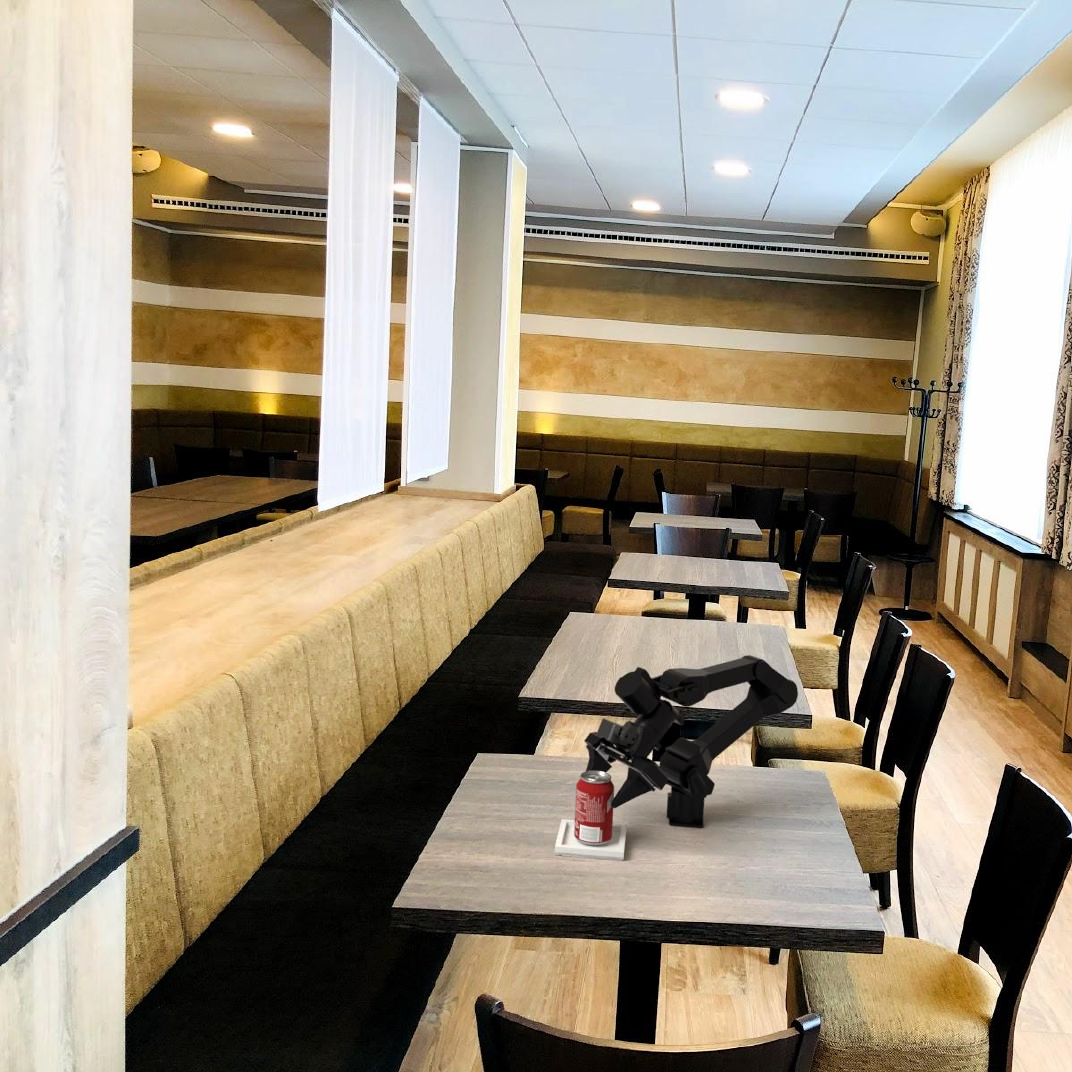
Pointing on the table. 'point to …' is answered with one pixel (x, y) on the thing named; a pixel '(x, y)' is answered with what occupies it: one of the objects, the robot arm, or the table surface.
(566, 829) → the tray
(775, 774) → the table surface
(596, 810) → the soda can
